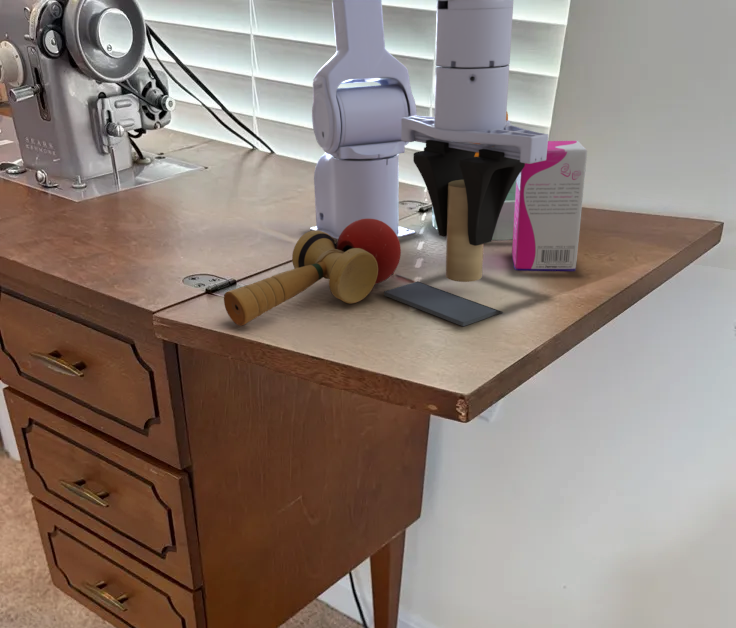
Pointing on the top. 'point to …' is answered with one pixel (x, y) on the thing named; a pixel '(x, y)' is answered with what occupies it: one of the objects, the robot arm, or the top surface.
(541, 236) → the supplement box
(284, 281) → the kendama
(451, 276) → the birch peg
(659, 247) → the top surface
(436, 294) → the felt mat
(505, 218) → the bowl
